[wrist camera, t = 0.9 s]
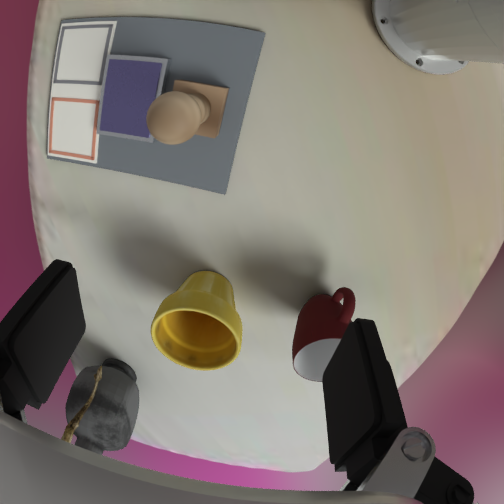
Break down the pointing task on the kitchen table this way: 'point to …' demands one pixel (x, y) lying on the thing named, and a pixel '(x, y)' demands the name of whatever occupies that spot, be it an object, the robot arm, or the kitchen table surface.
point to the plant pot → (199, 323)
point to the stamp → (187, 112)
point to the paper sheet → (78, 89)
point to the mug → (320, 332)
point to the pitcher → (102, 407)
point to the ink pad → (130, 95)
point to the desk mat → (182, 68)
